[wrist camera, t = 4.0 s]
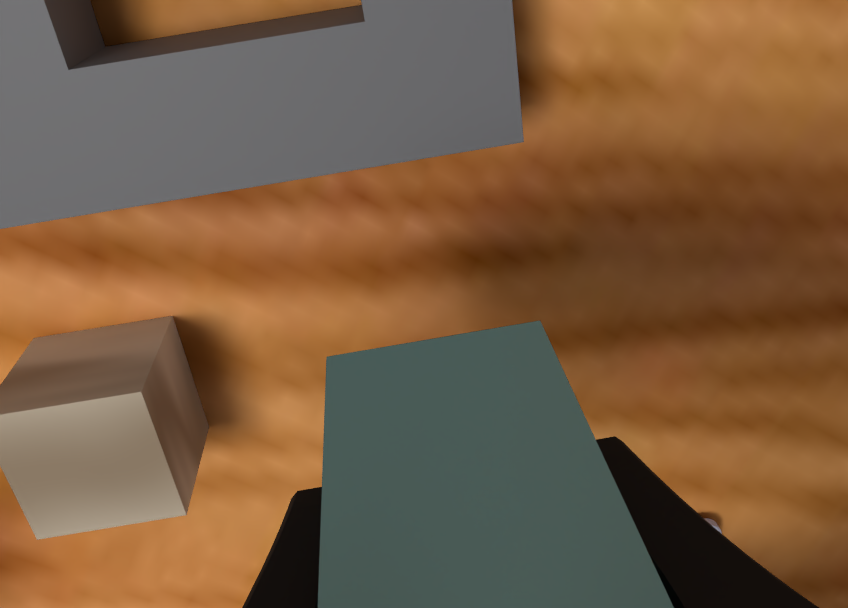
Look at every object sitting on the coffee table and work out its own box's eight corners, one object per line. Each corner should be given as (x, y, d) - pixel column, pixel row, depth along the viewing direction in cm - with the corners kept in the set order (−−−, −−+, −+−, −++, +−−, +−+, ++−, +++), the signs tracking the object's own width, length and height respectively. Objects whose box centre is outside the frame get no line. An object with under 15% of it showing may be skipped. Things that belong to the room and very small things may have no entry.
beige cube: (209, 425, 21) (186, 515, 18) (82, 446, 21) (37, 539, 18) (172, 314, 20) (141, 391, 17) (35, 336, 20) (-24, 418, 16)
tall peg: (553, 485, 14) (678, 832, 9) (364, 518, 14) (377, 887, 9) (540, 320, 13) (682, 626, 7) (326, 357, 13) (314, 692, 7)
